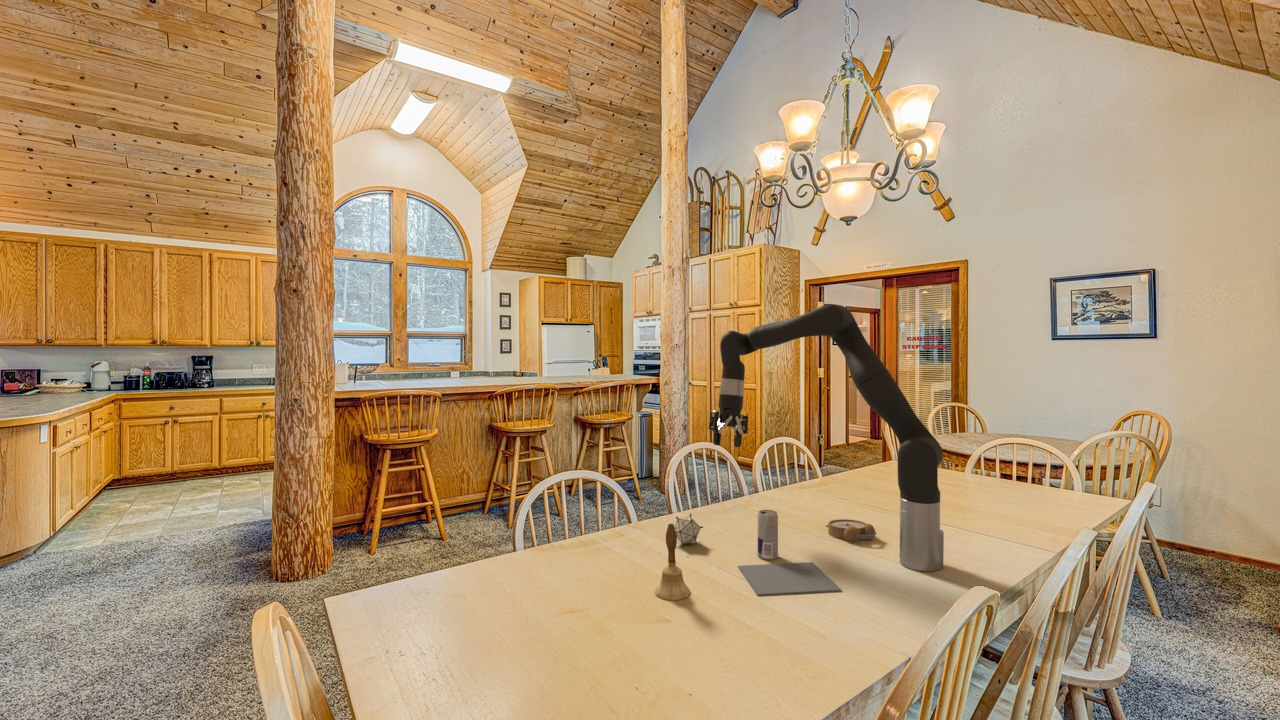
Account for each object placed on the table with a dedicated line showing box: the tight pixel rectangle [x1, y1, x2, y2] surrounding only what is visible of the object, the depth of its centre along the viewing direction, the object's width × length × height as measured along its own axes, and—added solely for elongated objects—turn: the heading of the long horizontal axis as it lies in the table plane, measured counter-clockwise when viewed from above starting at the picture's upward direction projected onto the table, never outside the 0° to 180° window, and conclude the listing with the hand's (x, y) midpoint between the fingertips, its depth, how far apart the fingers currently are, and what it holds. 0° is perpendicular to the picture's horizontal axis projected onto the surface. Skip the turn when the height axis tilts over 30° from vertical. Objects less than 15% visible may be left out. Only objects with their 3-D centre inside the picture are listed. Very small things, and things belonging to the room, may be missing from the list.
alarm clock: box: [825, 518, 877, 544], centre depth 161 cm, size 11×5×15 cm
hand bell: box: [654, 523, 691, 601], centre depth 126 cm, size 8×8×16 cm
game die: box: [674, 513, 704, 547], centre depth 156 cm, size 9×8×10 cm
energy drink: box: [757, 509, 779, 561], centre depth 146 cm, size 5×5×12 cm
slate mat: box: [737, 561, 842, 597], centre depth 133 cm, size 20×16×1 cm
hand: (727, 446), depth 169 cm, fingers open, 8 cm apart
